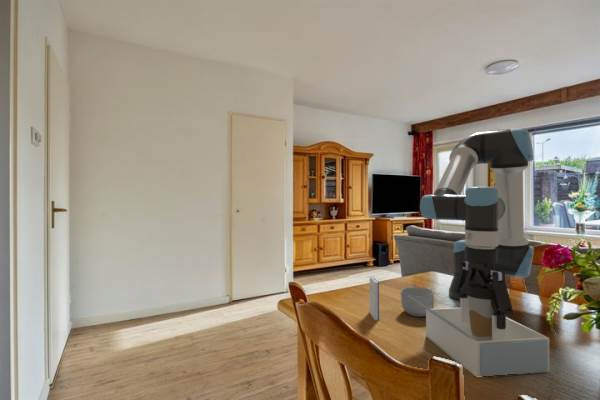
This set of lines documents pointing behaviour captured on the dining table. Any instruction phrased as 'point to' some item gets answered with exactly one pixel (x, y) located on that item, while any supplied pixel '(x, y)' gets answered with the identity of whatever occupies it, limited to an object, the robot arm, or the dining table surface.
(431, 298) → the teacup
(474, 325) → the coffee cup
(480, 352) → the carton
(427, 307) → the flap
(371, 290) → the hard drive
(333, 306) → the dining table surface
